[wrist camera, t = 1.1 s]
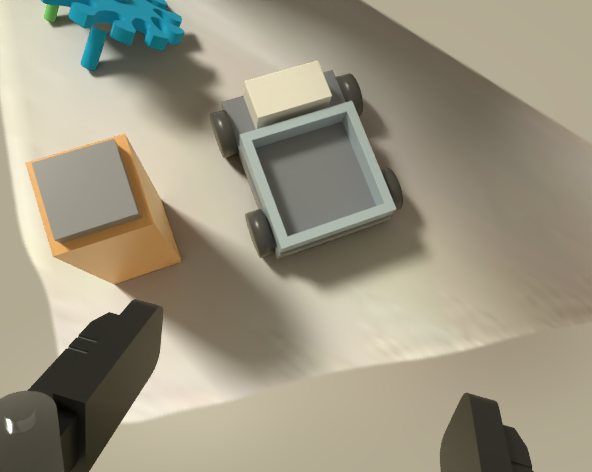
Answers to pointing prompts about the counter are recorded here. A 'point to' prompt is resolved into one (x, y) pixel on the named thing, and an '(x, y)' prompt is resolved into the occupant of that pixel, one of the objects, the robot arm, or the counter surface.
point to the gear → (120, 23)
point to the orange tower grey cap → (103, 211)
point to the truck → (305, 159)
